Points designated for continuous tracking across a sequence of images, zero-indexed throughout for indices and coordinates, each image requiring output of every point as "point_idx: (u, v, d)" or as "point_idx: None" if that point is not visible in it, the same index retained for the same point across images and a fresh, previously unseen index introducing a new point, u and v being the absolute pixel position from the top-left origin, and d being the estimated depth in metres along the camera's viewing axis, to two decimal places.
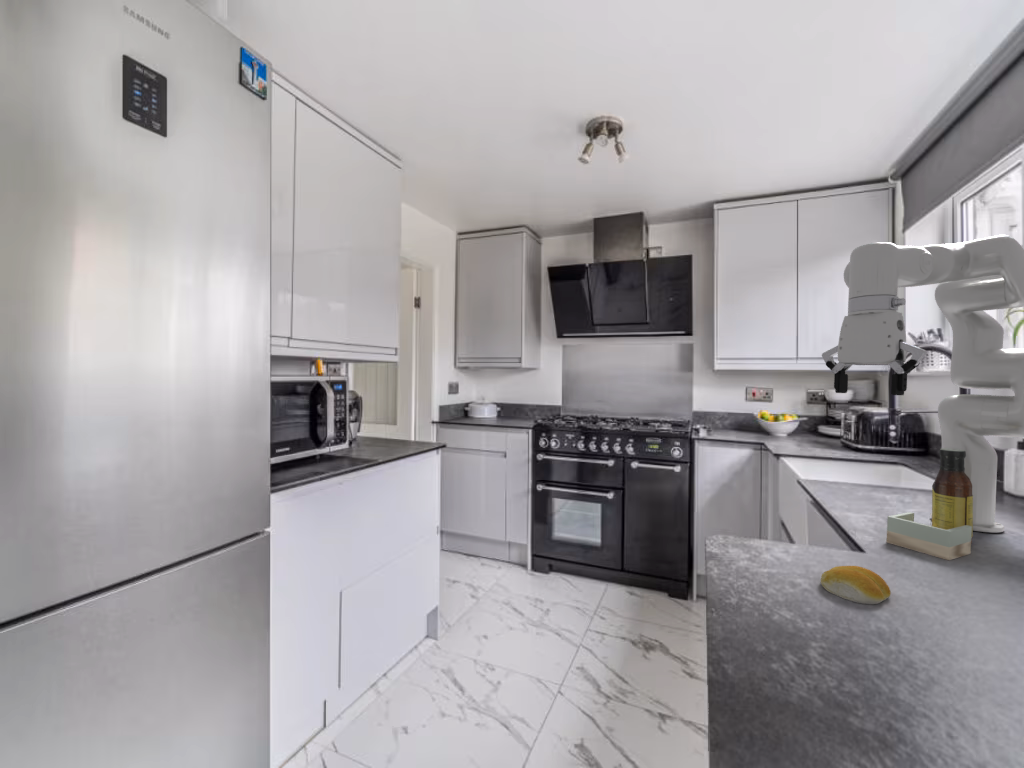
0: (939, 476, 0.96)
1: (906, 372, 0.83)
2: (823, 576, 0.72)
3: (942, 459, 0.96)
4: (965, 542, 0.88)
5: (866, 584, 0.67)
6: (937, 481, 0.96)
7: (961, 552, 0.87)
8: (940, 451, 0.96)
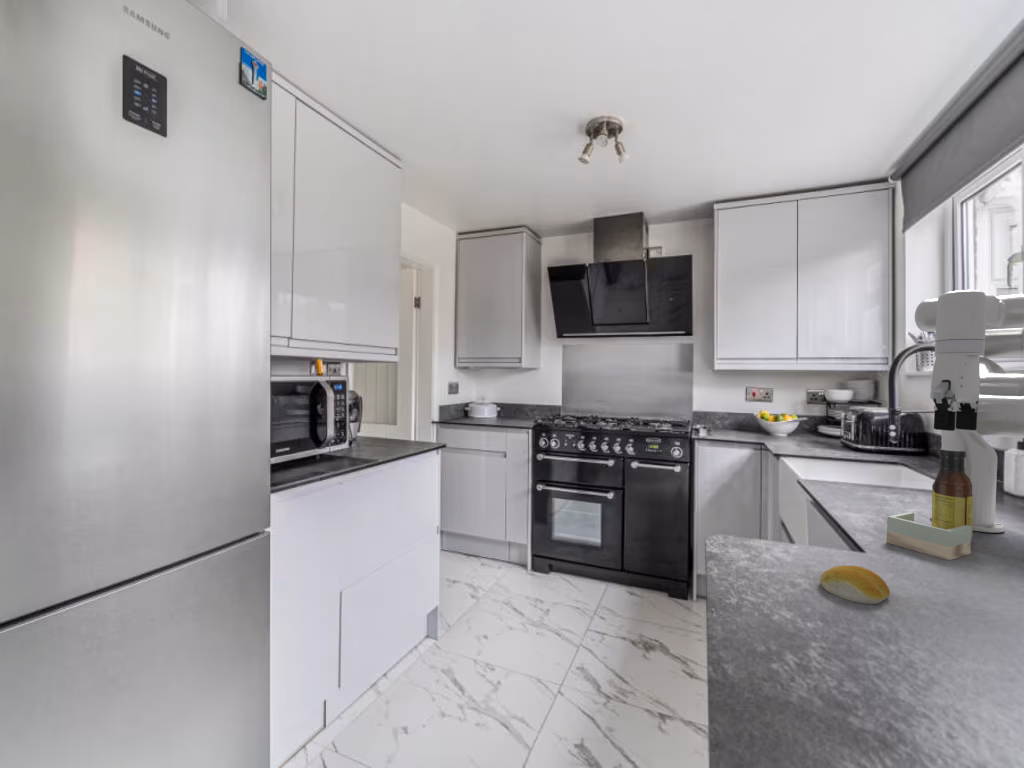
0: (939, 476, 0.96)
1: None
2: (822, 576, 0.72)
3: (942, 459, 0.96)
4: (965, 542, 0.88)
5: (865, 583, 0.67)
6: (937, 481, 0.96)
7: (961, 552, 0.87)
8: (940, 451, 0.96)
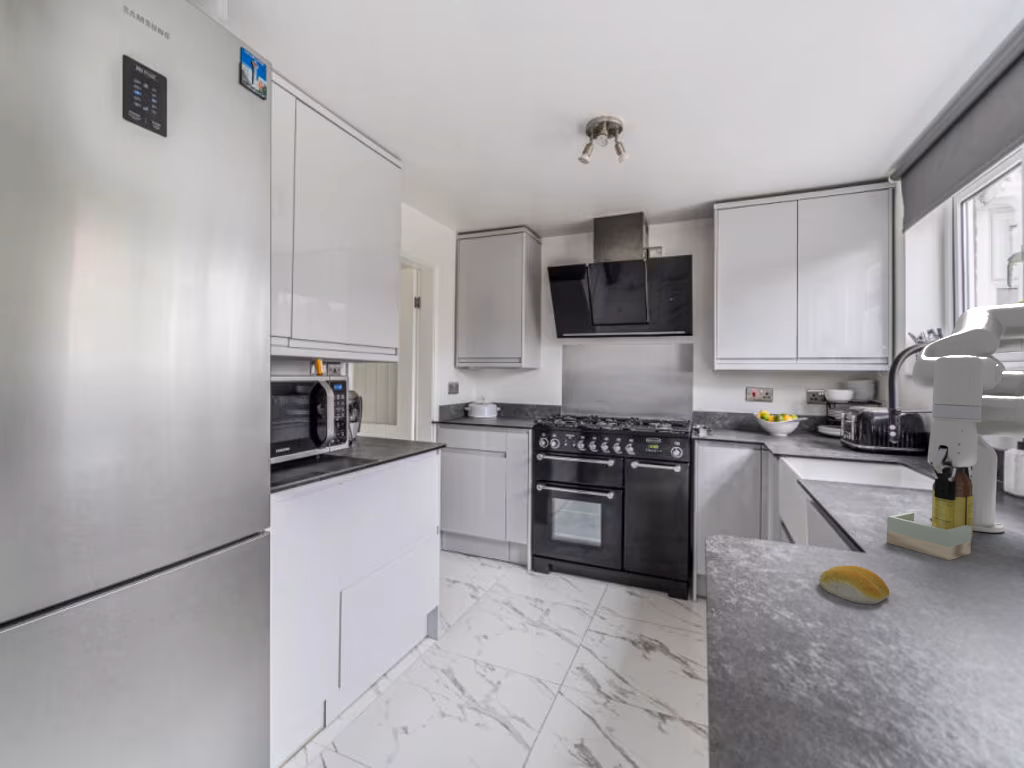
0: None
1: None
2: (822, 576, 0.72)
3: None
4: (965, 542, 0.88)
5: (864, 583, 0.67)
6: None
7: (961, 552, 0.87)
8: None
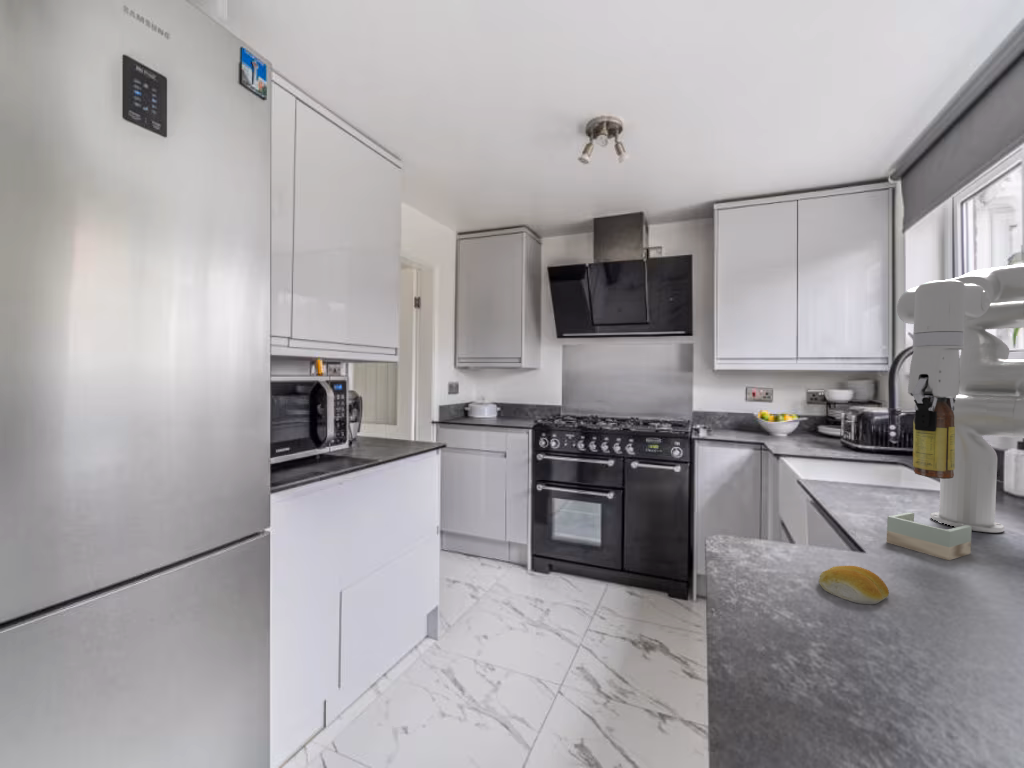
0: None
1: None
2: (821, 576, 0.72)
3: None
4: (965, 542, 0.88)
5: (864, 584, 0.67)
6: None
7: (961, 552, 0.87)
8: None
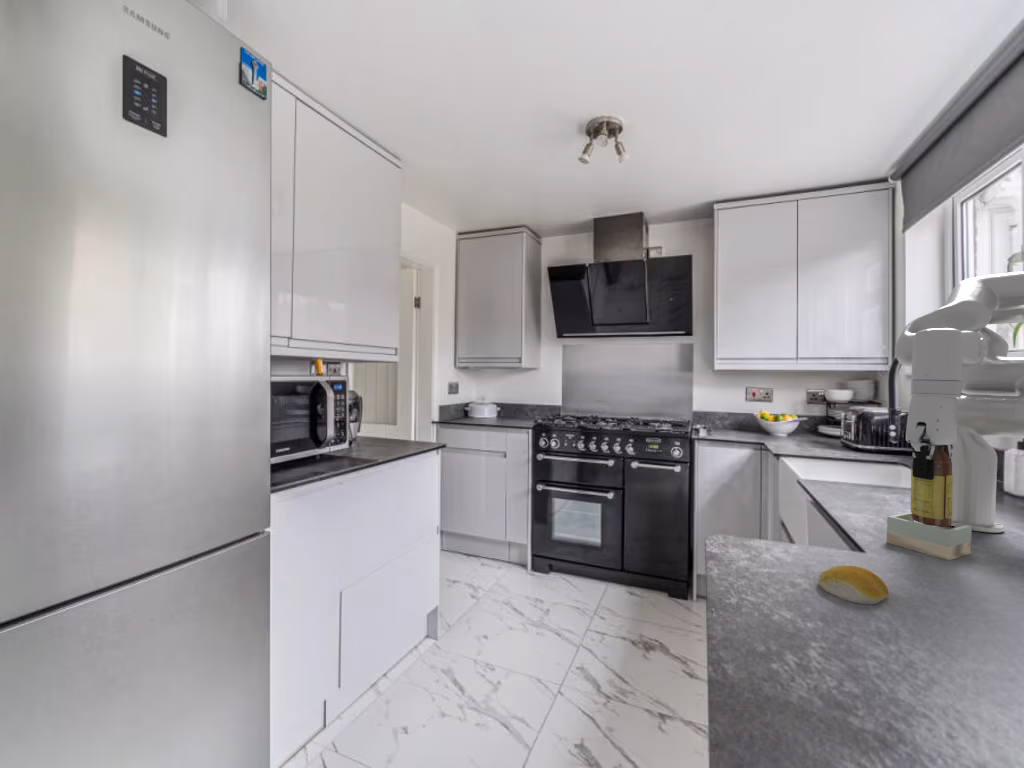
0: None
1: None
2: (821, 576, 0.72)
3: None
4: (965, 542, 0.88)
5: (864, 584, 0.67)
6: None
7: (961, 552, 0.87)
8: None
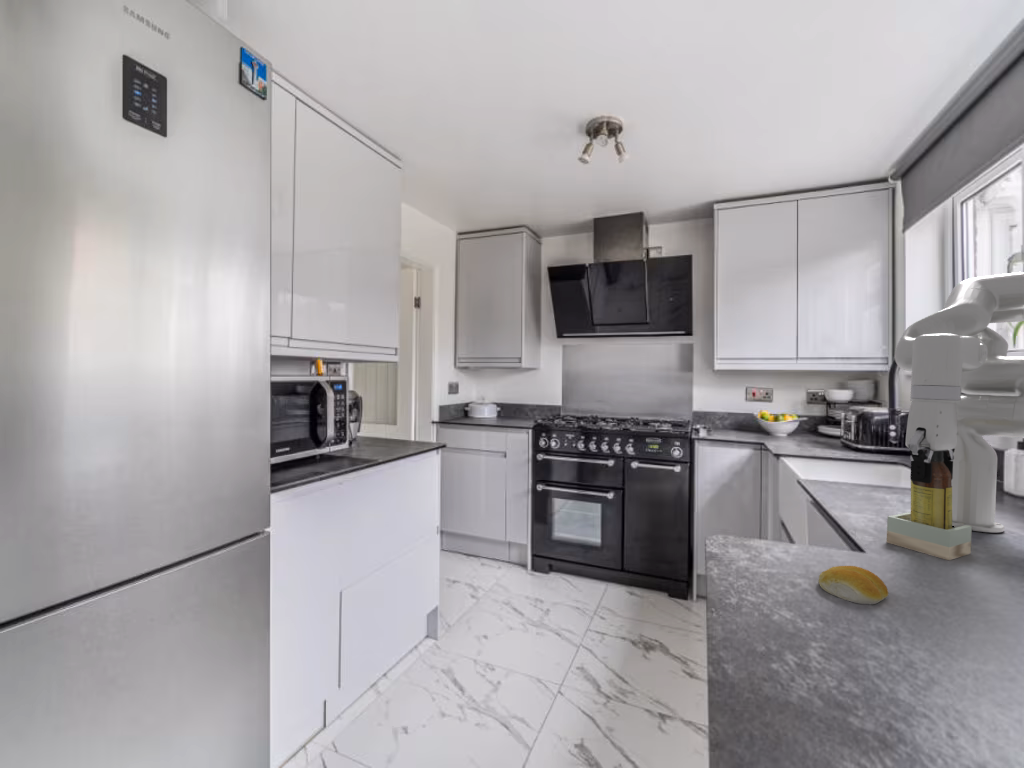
0: None
1: None
2: (821, 576, 0.71)
3: None
4: (965, 542, 0.88)
5: (864, 584, 0.67)
6: None
7: (961, 552, 0.87)
8: None
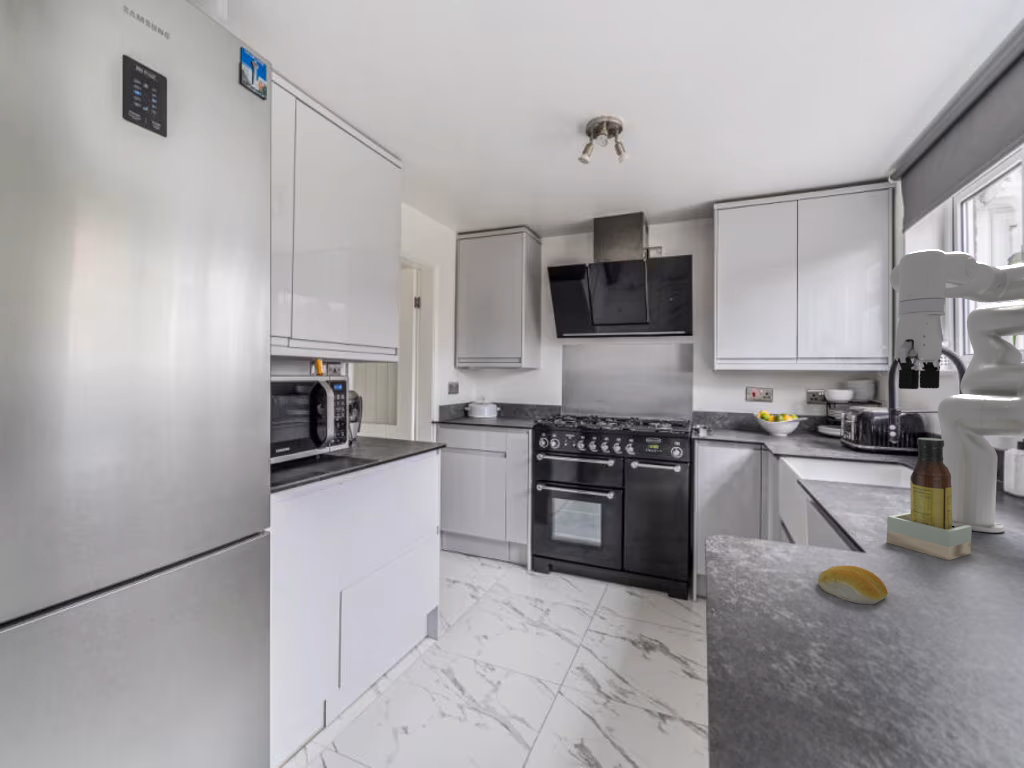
0: (917, 467, 0.92)
1: None
2: (820, 576, 0.71)
3: (920, 449, 0.92)
4: (965, 542, 0.88)
5: (863, 584, 0.67)
6: (914, 471, 0.92)
7: (961, 552, 0.87)
8: (918, 441, 0.92)
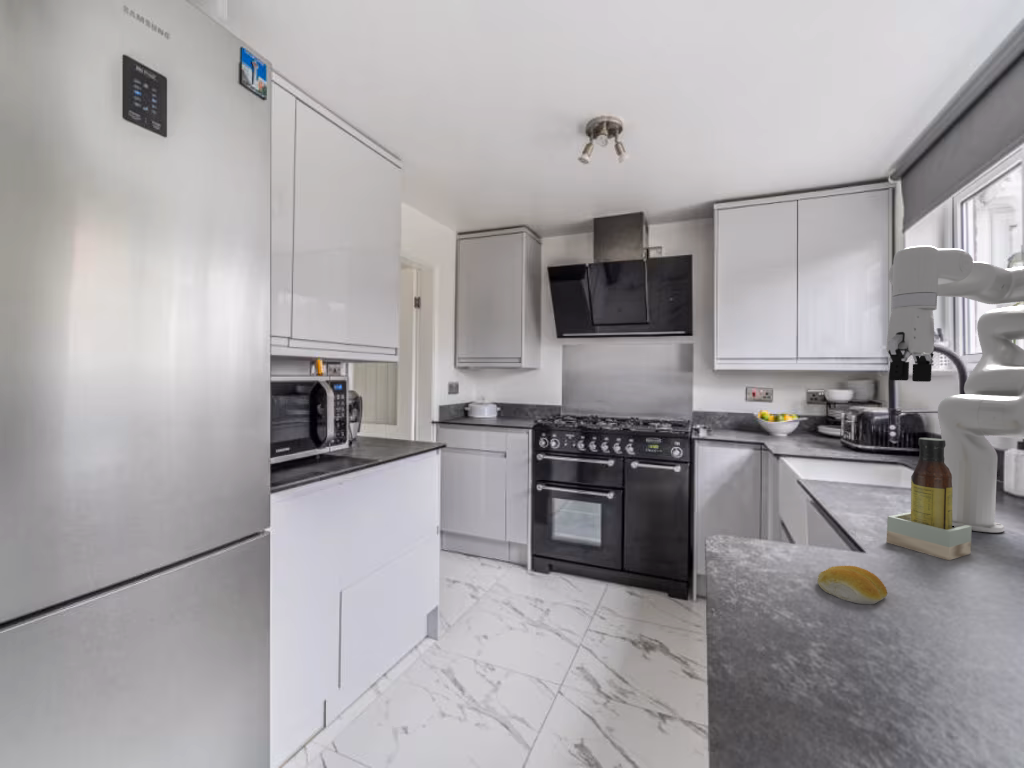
0: (918, 466, 0.92)
1: None
2: (820, 576, 0.71)
3: (921, 449, 0.92)
4: (965, 542, 0.88)
5: (863, 584, 0.67)
6: (915, 471, 0.92)
7: (961, 552, 0.87)
8: (919, 440, 0.92)
